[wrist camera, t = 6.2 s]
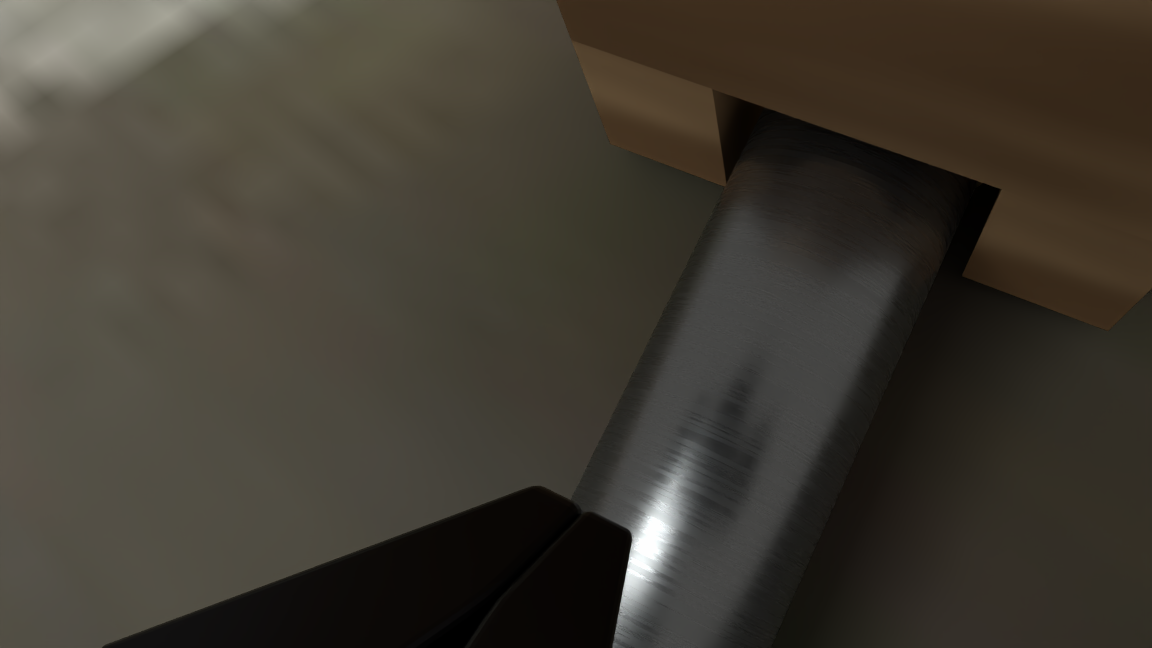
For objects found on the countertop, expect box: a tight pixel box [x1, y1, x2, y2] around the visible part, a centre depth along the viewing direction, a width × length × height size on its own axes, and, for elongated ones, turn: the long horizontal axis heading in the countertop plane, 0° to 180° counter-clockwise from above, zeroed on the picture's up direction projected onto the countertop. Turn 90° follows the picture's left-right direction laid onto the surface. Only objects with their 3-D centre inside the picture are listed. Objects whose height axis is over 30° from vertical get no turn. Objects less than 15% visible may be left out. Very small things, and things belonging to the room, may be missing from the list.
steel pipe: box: [571, 107, 982, 648], centre depth 14 cm, size 16×3×3 cm, turn 153°
